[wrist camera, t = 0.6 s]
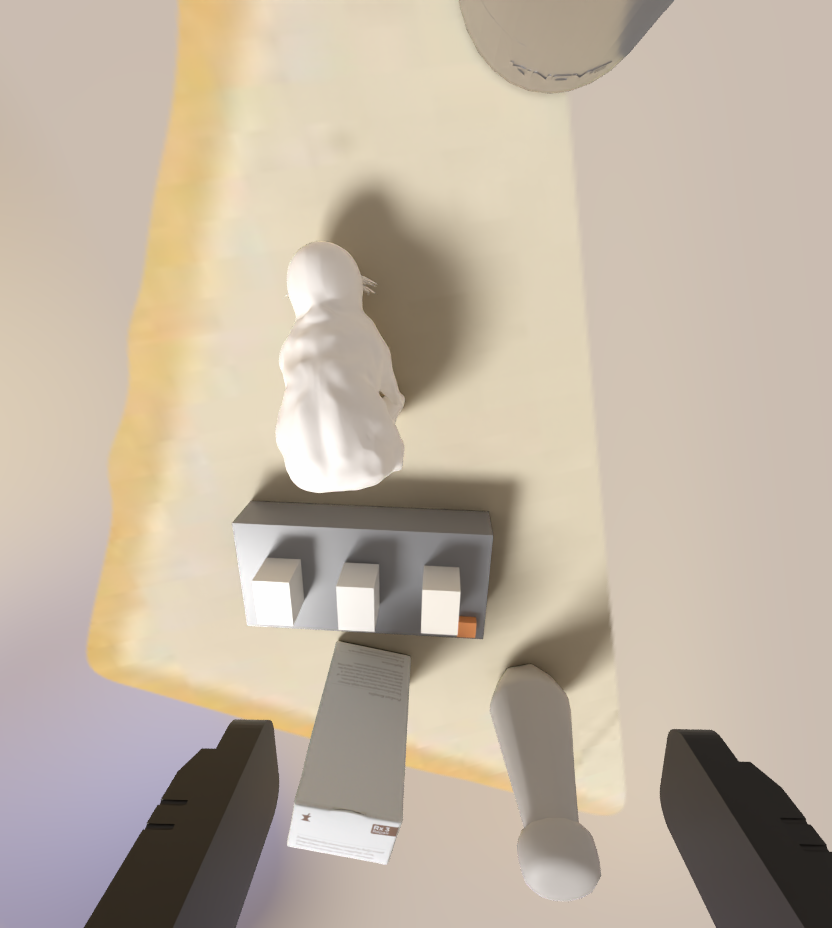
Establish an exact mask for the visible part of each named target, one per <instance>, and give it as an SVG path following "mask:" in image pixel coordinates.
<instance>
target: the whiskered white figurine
mask: <svg viewBox="0 0 832 928" xmlns="http://www.w3.org/2000/svg"><path fill="white" fill-rule="evenodd" d="M367 281H368V282H367ZM369 282H371V283H374V284H377V283H375V282H373V281H371V280H369V278H367V277H364V276H362V275H361V274H360V271H359V268H358V266H357V264H356V262H355V260H354V259H353V257H352V256H351V255H350V254H349V253H348V252H347V251H346V250H345V249H343V248H342V247H340V246H338V245H336V244H334V243H331V242H327V241H316V242H312V243H309V244H306V245H305V246H303V247H302V248H300V249H299V250H298V251H297V252H296V253H295V254H294V256H293V257H292V259H291V261H290V263H289V266H288V271H287V288H288V294H286V295H285V296H287V295H289V298H290V300H291V303H292V305H293V308H294V311H295V314H296V321H295V323H294V324H293V326H292V328H291V330H290V333H289V335H288V336H287V338H286V340H285V342H284V343H283V345H282V348H281V351H280V356H279V365H280V368H281V371H282V373H283V378H284V382H285V385H286V389H285V392H284V398H283V401H282V404H281V407H280V410H279V413H278V419H277V423H276V442H277V445H278V447H279V449H280V451H281V453H282V455H283V457H284V460H285V466H286V470H287V472H288V474H289V476H290V478H291V480H292V481H293V482H294V483H295V484H296V485H297V486H298V487H299V488H301V489H303V490H306V491H310V492H315V493H324V492H334V491H347V490H360V489H363V488H367V487H371V486H374V485H376V484H378V483H379V482H381V481H382V480H383V479H384V478H385V477H387V476H388V475H390V474H391V473H392V472H394V471H399V470H401V469H402V466H403V457H404V443H403V440H402V439H401V437H400V434H399V432H398V429H397V427H396V425H395V422H396V419H397V417H398V415H399V414H400V412H401V410H402V409H403V406H404V403H405V397H404V395H403V394H401V393H400V392H399V389H398V385H397V381H396V378H395V375H394V372H393V368H392V360H391V353H390V350H389V347H388V346H387V344H386V343H385V341H384V340H383V338H382V336H381V335H380V333H379V331H378V330H377V328H376V326H375V324H374V322H373V321H372V320H371V318H369V317H368V316H367V315H366V314H365V312H364V311H363V307H362V297H363V292H364V290H365V291H367V293H368V295H369V293H370V292H369V291H371V292H373V291H372V290H371V289H372V288H371V289H370V288H368V287H367V286H365V285H366V284H369V285H372V286H375V285H373V284H371V283H369ZM364 284H365V285H364ZM375 287H376V286H375ZM363 289H364V290H363ZM368 290H369V291H368ZM364 293H366V292H364ZM373 293H375V292H373ZM375 294H376V293H375ZM369 296H370V295H369ZM283 298H284V297H283ZM379 391H381V392H382V393H383V394H384V395H385V396H384V397H383V398H381V396H380V395H379Z"/></svg>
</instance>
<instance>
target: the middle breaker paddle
mask: <svg viewBox="0 0 832 928" xmlns="http://www.w3.org/2000/svg"><path fill="white" fill-rule="evenodd" d="M336 595H337V613H338V630H350V631H368V632H375V627H376V622H377V617H378V611H379V606H380V594H379V564H365V563H345V562H344V565H343V568H342V570H341V573H340V576H339V579H338V582H337V585H336Z"/></svg>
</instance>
